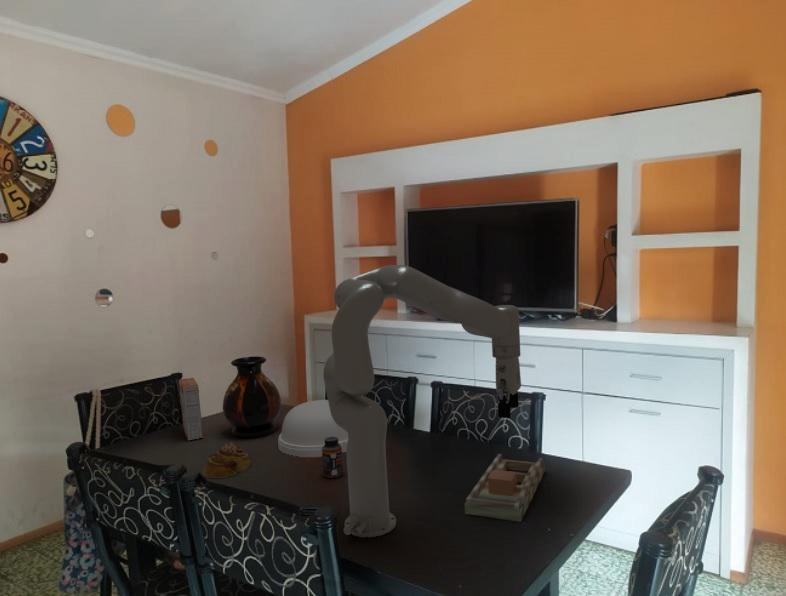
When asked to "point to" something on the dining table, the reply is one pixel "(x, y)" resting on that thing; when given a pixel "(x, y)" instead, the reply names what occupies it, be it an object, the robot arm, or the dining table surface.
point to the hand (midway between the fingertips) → (508, 412)
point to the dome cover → (309, 430)
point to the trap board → (505, 505)
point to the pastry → (226, 462)
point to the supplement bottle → (332, 458)
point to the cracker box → (191, 408)
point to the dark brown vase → (251, 400)
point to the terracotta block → (502, 482)
